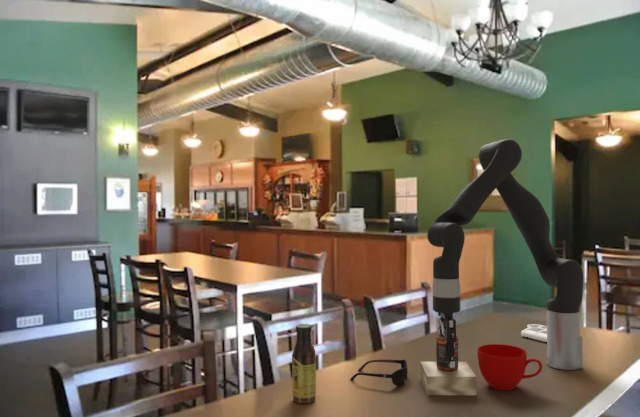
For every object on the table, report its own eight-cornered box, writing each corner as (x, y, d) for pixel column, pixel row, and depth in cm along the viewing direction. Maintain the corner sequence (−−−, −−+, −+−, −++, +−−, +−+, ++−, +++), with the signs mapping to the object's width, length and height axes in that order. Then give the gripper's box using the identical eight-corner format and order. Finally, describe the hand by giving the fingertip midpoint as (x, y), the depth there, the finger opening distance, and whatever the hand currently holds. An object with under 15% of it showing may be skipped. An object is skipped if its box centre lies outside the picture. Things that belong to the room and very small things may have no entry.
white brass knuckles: (513, 336, 199) (538, 330, 207) (555, 347, 184) (581, 341, 191) (513, 327, 199) (538, 322, 207) (555, 337, 184) (581, 331, 191)
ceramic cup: (538, 401, 134) (537, 362, 134) (472, 389, 143) (471, 353, 143) (546, 385, 145) (545, 349, 145) (484, 375, 154) (484, 341, 154)
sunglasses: (401, 390, 144) (401, 372, 144) (347, 384, 149) (347, 367, 149) (410, 374, 157) (410, 358, 157) (359, 369, 162) (359, 353, 162)
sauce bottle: (292, 396, 140) (290, 322, 140) (315, 395, 140) (314, 321, 140) (292, 405, 133) (291, 328, 133) (317, 404, 134) (316, 327, 134)
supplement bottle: (459, 372, 142) (458, 330, 142) (436, 371, 143) (436, 330, 143) (457, 365, 148) (457, 325, 148) (436, 364, 149) (435, 325, 149)
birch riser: (466, 378, 151) (465, 361, 151) (476, 395, 138) (476, 376, 138) (420, 378, 152) (420, 361, 152) (427, 395, 139) (426, 376, 139)
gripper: (465, 298, 138) (466, 359, 138) (454, 289, 152) (455, 345, 152) (436, 298, 138) (437, 359, 138) (428, 289, 152) (429, 345, 153)
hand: (447, 352), depth 145 cm, fingers open, 8 cm apart
